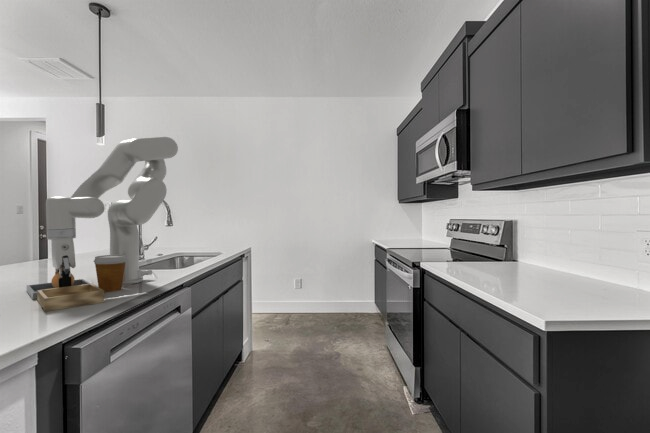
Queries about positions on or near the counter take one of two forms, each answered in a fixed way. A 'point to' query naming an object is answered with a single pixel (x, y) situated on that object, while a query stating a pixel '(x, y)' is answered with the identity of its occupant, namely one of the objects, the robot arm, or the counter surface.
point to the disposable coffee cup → (110, 271)
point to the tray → (69, 296)
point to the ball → (56, 280)
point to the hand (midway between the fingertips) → (63, 287)
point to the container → (48, 287)
